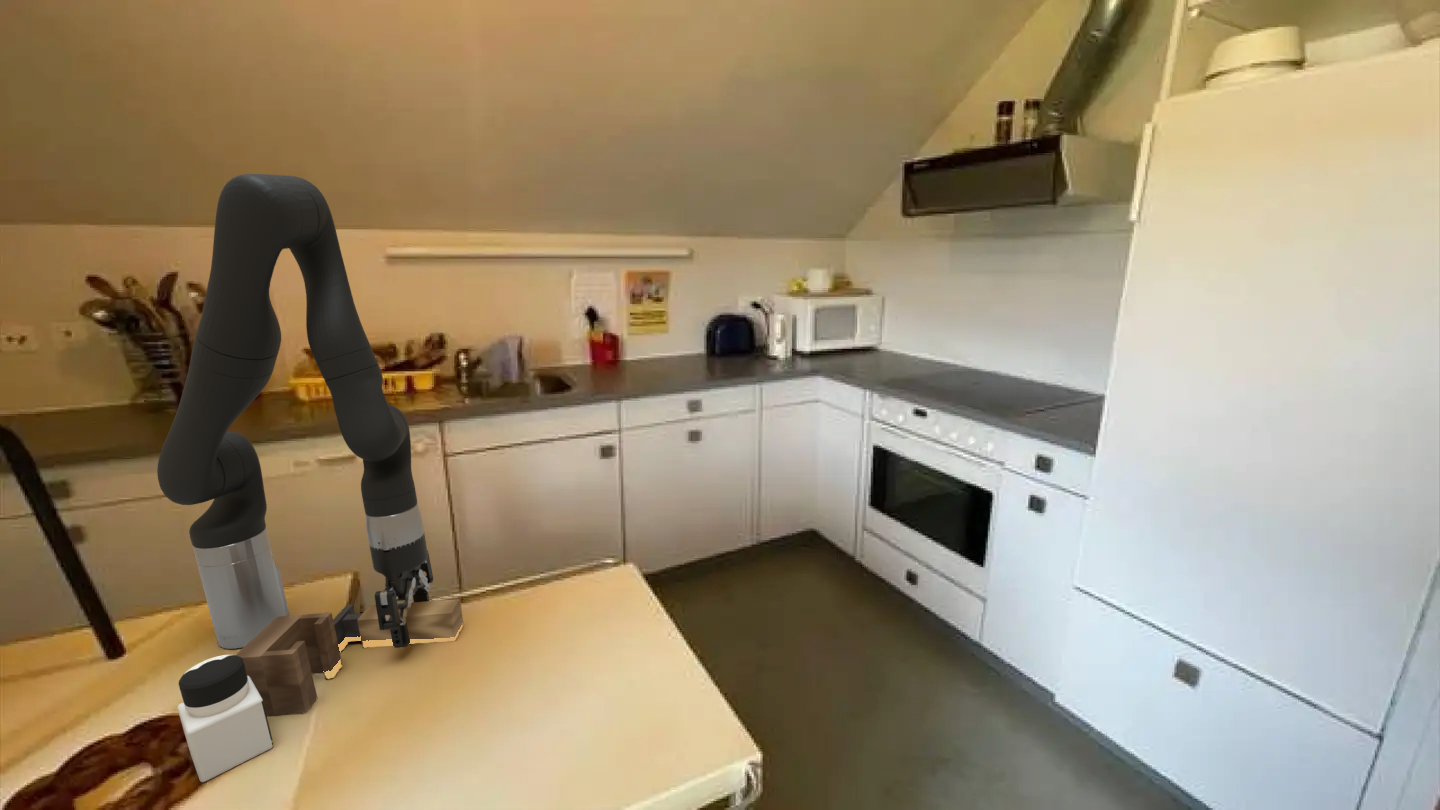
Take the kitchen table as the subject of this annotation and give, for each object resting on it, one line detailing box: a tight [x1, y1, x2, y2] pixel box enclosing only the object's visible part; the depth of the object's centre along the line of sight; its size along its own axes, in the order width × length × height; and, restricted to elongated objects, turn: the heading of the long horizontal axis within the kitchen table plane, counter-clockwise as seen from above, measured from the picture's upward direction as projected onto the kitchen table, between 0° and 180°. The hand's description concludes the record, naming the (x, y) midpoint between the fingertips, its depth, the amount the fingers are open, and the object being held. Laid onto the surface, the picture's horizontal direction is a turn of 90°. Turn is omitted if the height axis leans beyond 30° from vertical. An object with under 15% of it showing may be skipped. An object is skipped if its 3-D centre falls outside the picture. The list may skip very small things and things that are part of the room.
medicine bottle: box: [177, 654, 274, 783], centre depth 74 cm, size 7×7×12 cm
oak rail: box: [333, 598, 464, 644], centre depth 96 cm, size 18×6×5 cm, turn 95°
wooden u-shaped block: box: [235, 612, 342, 717], centre depth 84 cm, size 8×10×9 cm
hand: (413, 629), depth 97 cm, fingers open, 8 cm apart
